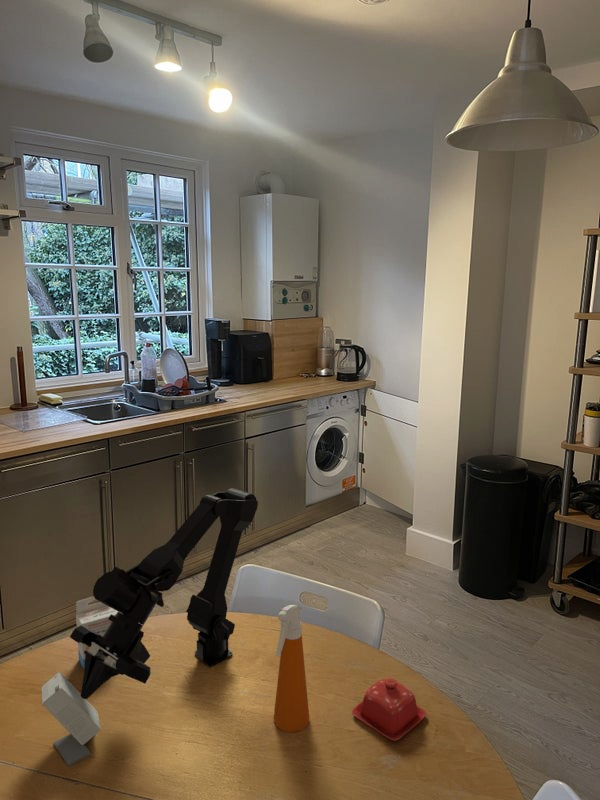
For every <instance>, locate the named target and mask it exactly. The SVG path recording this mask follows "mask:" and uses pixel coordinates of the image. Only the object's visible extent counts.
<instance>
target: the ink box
mask: <svg viewBox="0 0 600 800" xmlns="http://www.w3.org/2000/svg"><path fill="white" fill-rule="evenodd" d="M94 601H97V600H96V599H95V598H94V596H90V597H87V598H83V599H80V600H77V601H76V602H75V609H76V610H75V611H76V614H75V623H76V628H77V627H79V626H83V627H85V628H87V629H89V630H91V631H94V632H96V633H97V634H99V635H101V636H103V635H104V634H105V632H106V630H107V629H108V627H109V625H110V624H111V622H112V621H110V620H109V619H108V618H109V617H110V615H111V614H112V615H114V616H115V615H116V614H117V612H119V611H116V610H114V609H112V608H111V607H109V606H107V605H105V604H103V603H101V602H99V601H98V602H94ZM92 602H94V603H92ZM89 603H91V604H89ZM89 648H90V646H88V645H86V644H83V643H81V642H80V643H78V642H77V649H78V650H77V651H78V661H79V663H80V665H81V667H82V668H83V670H84V667H85V654H84V651H85V650H86V651H88V650H89ZM107 649H108V650H109V648H108V647H107ZM114 654H116V653H114Z"/></svg>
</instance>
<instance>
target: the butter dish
mask: <svg viewBox="0 0 600 800" xmlns="http://www.w3.org/2000/svg"><path fill="white" fill-rule="evenodd" d="M351 714H352V715H353V716H354V717H355V718H357V719H358V720H360V721H362V723H364V724H366V725H367V726H369V727H371V728H372V729H373V730H375V732H378V733H379V734H381V735H382V736H383V737H386V738H387V739H389V740H390V741H393V742H394V741H399V740H400V739H401V738H403V737H404V736H405V735H406V734H407V733H408V732H410V731H411V730H412V729H413V728H414V727H416V726H417V725H418V724H419V723H420V722H421V721H422V720H424V719H425V717H426V716H427V711H426V710H425V709H423V708H421V707H420V706H419V705H417V701H416V697H415V695H414V693H413V692H412V690H410V689H409V688H408V687H406V686H405V685H403V684H402V683H400V682H398V681H396V679H394V678H391V677H390V678H389V677H388V678H383V679H380V680H378V681H376V682H375V683H374V684H372V685H371V686H370V687H369V688H368V689H367V690H365V693H364V695H363V698H362V701H361V702H359V703H357V705H355V707H354V708H353V709H352V710H351Z"/></svg>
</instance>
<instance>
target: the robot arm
mask: <svg viewBox="0 0 600 800" xmlns="http://www.w3.org/2000/svg"><path fill="white" fill-rule="evenodd" d="M258 506H259V502H258V500H257V496H255V494H252V493H250V492H246V491H244V490H240V489H237V488H234V487H233V488H232V487H230V488H229V489H227V490H226V491H220V492H219V491H217V492H214V493H213V494H206V495H203V497H201V498H200V501H199V504H198V505H197V507H196V508H195V509H194V510H193V512H191V514H190V515H189V516H188V518H186V520H185V521H184V522H183V523H182V525H180V527H179V528H178V529H177V530H176V532H175V533H174V534H173V535H172V536H171V538H169V540H168V541H167V542H165V544H163V545H161V546H159V547H157V548H154V549H153V550H152V551H151V552H150V553H149V554H147V555H146V556H145V557H144V558H143V559H142V560H141V561H140V563H137V564H136V565H135V566H132V567H131V568H129V569H128V570H126V571H125V570H124V569H122V568H120V567H119V566H117V565H115V566H114V567H113V568H112V570H111V571H107V572H104V574H103V575H101V576H100V577H98V578H97V580H96V581H95V584H94V585H93V588H92V589H93V590H92V593H93V594H92V597H94V598H95V599H96V600H95V601H98V602H101V603H103V604H105V605H107V606H109V607H111V608H112V609H114V610H116V611H118V612H117V614H116V615H115V616H114V615H112V614H111V615H110V617H109V618H108V619H109V620H110V621H112V622H111V624H110V625H109V627H108V629H107V630H106V632H105V634H104V635H103V636H101V635H99V634H97V633H96V632H94V631H91V630H89V629H87V628H85V627H83V626H79V627H77V626H76V627H75V628H74V629H73V631H72V632H71V634H70V635H69V638H70V639H71V640H73V641H74V642H75V643H77V644H78V643H80V642H81V643H83V644H86V645H88V646H90V648H89V650H88V651H86V650H85V651H84V654H85V667H84V669H83V678H82V684H81V691H80V694H81V697H82V698H83V699H86V700H88V699H90V698H89V697H91V696H92V695H93V694H94V693H96V691H97V690H98V689H100V688H101V687H102V686H103V685H104V684H105V683H106V682H107V681H108V680H110V679H111V678H113V677H116V676H118V675H121V676H123V675H124V676H126V677H128V678H131V679H134V680H136V681H138V682H140V683H142V684H146V683H147V682H148V680H149V677H150V676H151V667H150V666H148V665H147V664H145V663H146V662H147V661H148V660H149V659H150V658H151V654H150V652H149V650H148V649H147V648H146V646H145V644H144V643H143V642H142V639H143V637H144V635H145V632H143V631H142V628H143V627H144V626H145V623H146V622H147V620H148V618H149V617H150V616H151V613H152V612H153V610H154V608H155V606H156V605H157V606H159V607H161V608H163V607H164V605H165V603H164V599H163V592H165V591H166V592H168V591H169V590H170V589H172V587H173V586H175V583H176V582H177V580H178V579H179V578H180V576H181V574H182V572H183V569H184V563H185V560H186V558H187V556H188V555H190V553H191V551H193V549H194V548H195V547H196V546H197V544H198V543H199V541H201V539H202V538H203V537H204V535H205V534H206V533H207V532H208V530H210V528H211V527H212V525H213V524H214V523H215V522H216V520H217V519H218V518H219V521H220V530H219V533H218V536H217V541H216V543H215V547H214V550H213V554H212V558H211V561H210V564H209V568H208V570H207V573H206V574H207V575H206V577H205V582H204V585H203V588H202V589H201V590H200V591H199V592H198V593H197V594H192V595H191V597H190V600H189V605H188V608H187V609H186V613H187V616H186V619H187V621H188V624H189V625H190V626H192V627H191V628H192V629H193V630H196V631H198V632H197V640H196V651H194V656H196V657H197V658H198V659H199V660H201V661H202V662H203V663H205V665H206V666H208V667H213V666H215V665H216V664H219V663H221V662H223V661H225V660H227V659H229V658H231V657H232V656H233V651H231V650H230V649H229V639H230V636H231V635H233V634H234V632H235V626H236V624H235V623H234V622H233V621H231V620H229V619H227V613H228V603H227V600H226V599H227V598H226V589H227V587H228V582H229V580H230V576H231V572H232V570H233V565H234V563H235V559H236V555H237V552H238V548H239V545H240V541H241V537H242V533H243V532H244V530H246V528H248V527H249V526H250V525H251V524H252V522H253V519H254V518H255V515H256V513H257V510H258ZM107 647H108V648H109V650H108V649H107ZM114 653H116V654H114Z"/></svg>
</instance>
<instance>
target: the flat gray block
mask: <svg viewBox="0 0 600 800" xmlns="http://www.w3.org/2000/svg"><path fill="white" fill-rule="evenodd" d="M53 746H54V747H55V748H56V750H57V751H58V753H59V754H60V756H61V757H62V758H63V760H64V762H65V763H66V765H67V766H68V767H70V766H72V765H75V764H76V763H78V762H79V761H82V760H83V759H84V760H85V758H87V757H89V756H91V752H90V750H89V749H88V748H87V746H86V745H85V744H84V745H81V744H80V743H79V742H78V741H77V740H76V739H75V738H74V737H73V736H72V735H71V734H70V733H69V734H67V735H65V736H63V737H62V738H59V739H57V740H56V741H54V742H53Z"/></svg>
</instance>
